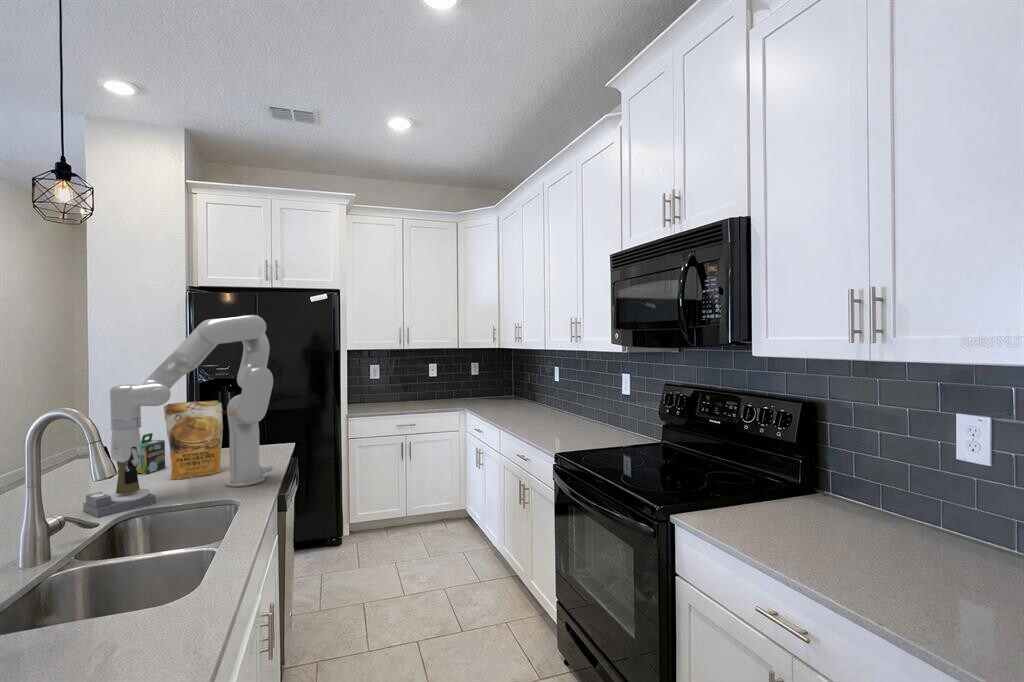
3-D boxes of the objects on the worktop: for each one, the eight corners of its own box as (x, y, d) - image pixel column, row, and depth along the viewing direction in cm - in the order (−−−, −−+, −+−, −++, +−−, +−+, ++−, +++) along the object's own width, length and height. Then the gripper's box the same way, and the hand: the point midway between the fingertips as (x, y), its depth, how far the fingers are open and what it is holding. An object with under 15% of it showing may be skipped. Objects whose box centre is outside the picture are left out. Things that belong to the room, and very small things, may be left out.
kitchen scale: (140, 497, 167) (140, 481, 167) (155, 502, 161) (155, 486, 161) (83, 510, 154) (83, 493, 154) (97, 517, 148) (97, 499, 148)
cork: (144, 488, 162) (143, 453, 162) (128, 494, 156) (127, 458, 156) (127, 487, 162) (126, 453, 162) (110, 493, 156) (109, 458, 156)
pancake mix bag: (165, 477, 189) (163, 403, 189) (223, 469, 200) (222, 398, 200) (165, 482, 184) (163, 405, 183) (225, 473, 195) (224, 400, 194)
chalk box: (146, 467, 204) (145, 431, 204) (166, 468, 203) (165, 431, 203) (125, 474, 195) (124, 435, 195) (146, 474, 194) (145, 436, 194)
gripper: (100, 423, 160) (102, 481, 160) (123, 428, 151) (125, 489, 151) (128, 420, 166) (130, 475, 167) (152, 424, 157) (153, 482, 158)
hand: (128, 481), depth 159 cm, fingers open, 4 cm apart
